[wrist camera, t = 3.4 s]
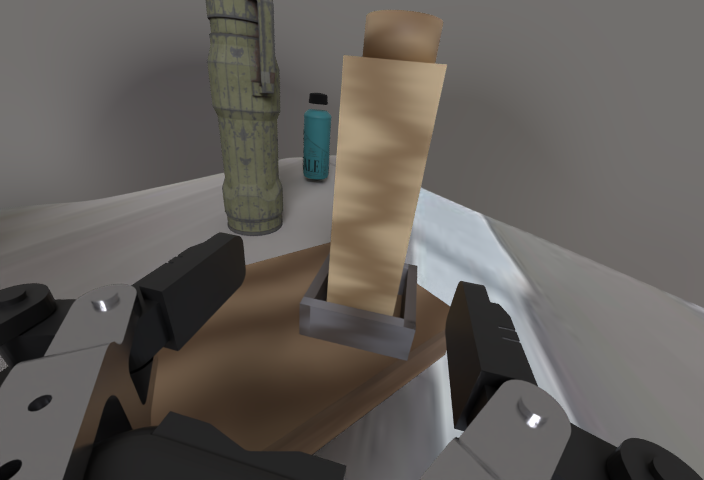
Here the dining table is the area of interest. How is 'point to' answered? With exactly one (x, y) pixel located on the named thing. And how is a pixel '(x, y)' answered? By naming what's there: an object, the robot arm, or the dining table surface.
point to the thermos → (247, 111)
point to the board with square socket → (297, 356)
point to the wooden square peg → (382, 155)
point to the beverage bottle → (316, 139)
